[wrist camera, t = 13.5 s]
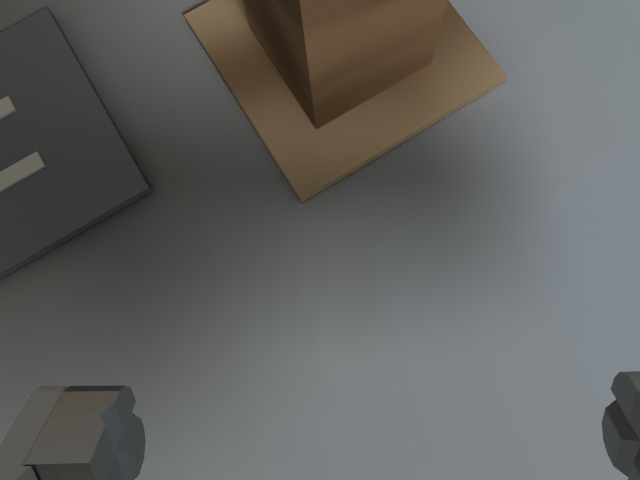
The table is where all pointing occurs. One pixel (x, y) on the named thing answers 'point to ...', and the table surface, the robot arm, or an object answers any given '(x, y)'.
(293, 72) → the walnut pillar
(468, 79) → the cork pad
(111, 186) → the slate tile
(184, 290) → the table surface
